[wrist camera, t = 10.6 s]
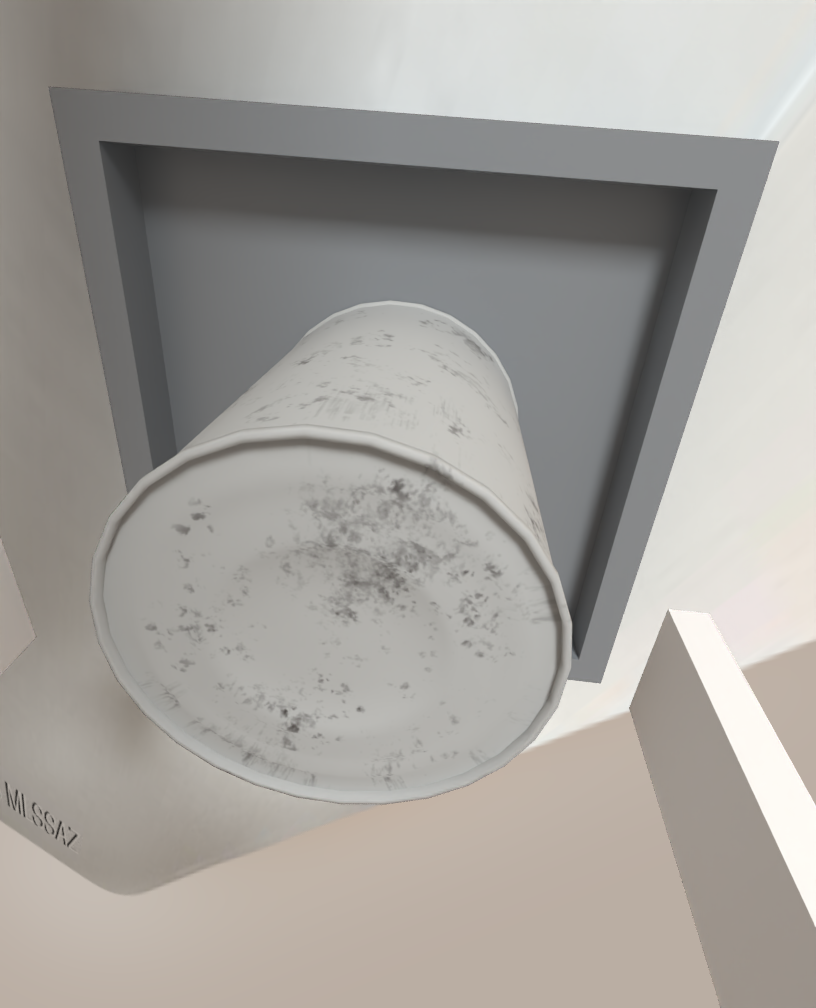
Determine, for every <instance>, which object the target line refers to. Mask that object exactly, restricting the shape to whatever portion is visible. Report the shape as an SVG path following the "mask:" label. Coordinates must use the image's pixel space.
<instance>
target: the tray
mask: <svg viewBox="0 0 816 1008" xmlns="http://www.w3.org/2000/svg"><path fill="white" fill-rule="evenodd" d="M49 91H50V97H51V102H52V107H53V112H54V117H55V122H56V127H57V133H58V138H59V143H60V148H61V153H62V158H63V163H64V169H65V174H66V179H67V184H68V189H69V194H70V199H71V205H72V210H73V215H74V220H75V225H76V230H77V235H78V241H79V246H80V251H81V256H82V261H83V266H84V271H85V277H86V282H87V287H88V292H89V297H90V302H91V307H92V313H93V318H94V323H95V328H96V333H97V338H98V343H99V348H100V354H101V359H102V364H103V369H104V374H105V379H106V384H107V390H108V395H109V400H110V405H111V410H112V415H113V420H114V426H115V431H116V436H117V441H118V446H119V451H120V456H121V462H122V467H123V472H124V477H125V482H126V487H127V492H128V493H129V492H130V491H131V490H132V489H133V487H134V486H135V485H136V484H137V483H138V481H139V480H140V479H141V478H142V477H144V476H145V475H147V474H148V473H150V472H151V471H153V470H154V469H156V468H157V467H159V466H160V465H162V464H163V463H165V462H166V461H168V460H169V459H171V458H172V457H174V456H175V455H176V454H178V453H179V452H180V451H181V450H182V449H183V448H184V447H185V446H186V445H187V444H189V443H190V442H191V441H192V440H193V439H194V438H195V437H196V436H197V435H198V434H200V433H201V432H202V431H203V430H204V429H205V428H206V427H207V426H208V425H209V424H211V423H212V422H213V421H214V420H215V419H216V418H217V417H218V416H219V415H220V414H222V413H223V412H224V411H225V410H226V409H227V408H228V407H229V406H230V405H232V404H233V403H234V402H235V401H236V400H237V399H238V398H239V397H240V396H241V395H243V394H244V393H245V392H246V391H247V390H248V389H249V388H250V387H251V386H252V385H254V384H255V383H256V382H257V381H258V380H259V379H260V378H261V377H262V376H263V375H265V374H266V373H267V372H268V371H269V370H270V369H271V368H272V367H273V366H274V365H276V364H277V363H278V362H279V361H280V360H281V359H282V358H283V357H284V356H285V355H287V354H288V353H289V352H290V351H291V350H292V349H293V348H294V347H295V346H296V344H297V343H298V342H299V341H300V340H301V339H302V338H303V336H304V335H305V334H306V333H307V332H308V331H309V330H310V329H312V328H313V327H315V326H316V325H318V324H319V323H320V322H322V321H323V320H325V319H326V318H328V317H329V316H331V315H332V314H334V313H337V312H340V311H342V310H345V309H348V308H350V307H353V306H356V305H359V304H363V303H371V302H380V301H389V300H392V301H400V302H408V303H416V304H422V305H425V306H428V307H430V308H433V309H436V310H438V311H441V312H444V313H446V314H449V315H451V316H453V317H454V318H456V319H457V320H459V321H460V322H462V323H463V324H465V325H466V326H468V327H469V328H471V329H472V330H473V331H475V332H476V333H477V334H478V335H479V336H480V337H481V338H482V339H483V340H484V341H485V343H486V344H487V345H488V346H489V347H490V348H491V349H492V350H493V351H494V352H495V353H496V355H497V357H498V358H499V360H500V362H501V364H502V366H503V367H504V369H505V371H506V373H507V374H508V376H509V378H510V380H511V384H512V388H513V391H514V395H515V399H516V402H517V406H518V421H519V425H520V430H521V434H522V438H523V442H524V446H525V450H526V455H527V459H528V463H529V467H530V471H531V476H532V480H533V484H534V488H535V492H536V497H537V501H538V505H539V509H540V513H541V518H542V522H543V526H544V530H545V534H546V539H547V543H548V547H549V551H550V555H551V560H552V564H553V566H554V567H555V569H556V571H557V572H558V574H559V578H560V582H561V585H562V589H563V592H564V596H565V599H566V603H567V606H568V610H569V613H570V617H571V621H572V657H571V669H570V672H569V675H568V678H567V679H568V680H576V681H585V682H593V683H601V681H602V678H603V675H604V672H605V669H606V666H607V663H608V660H609V657H610V654H611V650H612V647H613V644H614V641H615V638H616V635H617V632H618V629H619V626H620V623H621V620H622V617H623V614H624V611H625V608H626V605H627V602H628V599H629V596H630V593H631V590H632V587H633V584H634V581H635V578H636V575H637V572H638V569H639V566H640V563H641V560H642V557H643V553H644V550H645V547H646V544H647V541H648V538H649V535H650V532H651V529H652V526H653V523H654V520H655V517H656V514H657V511H658V508H659V505H660V502H661V499H662V496H663V493H664V490H665V487H666V484H667V481H668V478H669V475H670V472H671V469H672V466H673V463H674V459H675V456H676V453H677V450H678V447H679V444H680V441H681V438H682V435H683V432H684V429H685V426H686V423H687V420H688V417H689V414H690V411H691V408H692V405H693V402H694V399H695V396H696V393H697V390H698V387H699V384H700V381H701V378H702V375H703V372H704V369H705V365H706V362H707V359H708V356H709V353H710V350H711V347H712V344H713V341H714V338H715V335H716V332H717V329H718V326H719V323H720V320H721V317H722V314H723V311H724V308H725V305H726V302H727V299H728V296H729V293H730V290H731V287H732V284H733V281H734V278H735V275H736V272H737V268H738V265H739V262H740V259H741V256H742V253H743V250H744V247H745V244H746V241H747V238H748V235H749V232H750V229H751V226H752V223H753V220H754V217H755V214H756V211H757V208H758V205H759V202H760V199H761V196H762V193H763V190H764V187H765V184H766V181H767V178H768V174H769V171H770V168H771V165H772V162H773V159H774V156H775V153H776V150H777V147H778V144H779V141H768V140H755V139H741V138H728V137H715V136H701V135H688V134H675V133H661V132H648V131H634V130H621V129H608V128H594V127H581V126H568V125H554V124H541V123H528V122H514V121H501V120H488V119H474V118H461V117H448V116H434V115H421V114H407V113H394V112H381V111H367V110H354V109H341V108H327V107H314V106H301V105H287V104H274V103H261V102H247V101H234V100H221V99H207V98H194V97H181V96H167V95H154V94H140V93H127V92H114V91H100V90H87V89H74V88H60V87H49Z"/></svg>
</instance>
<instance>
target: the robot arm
mask: <svg viewBox="0 0 816 1008" xmlns="http://www.w3.org/2000/svg"><path fill="white" fill-rule="evenodd" d="M35 638H36V635H35V632H34V629H33V627H32V624H31V621H30V618H29V615H28V613H27V610H26V607H25V604H24V601H23V599H22V596H21V593H20V590H19V587H18V585H17V582H16V579H15V576H14V573H13V571H12V568H11V565H10V562H9V559H8V557H7V554H6V551H5V548H4V545H3V543H2V540H1V537H0V675H1V674H2V673H3V672H4V671H5V670H6V669H7V668H8V667H9V666H10V665H11V664H12V663H13V662H14V661H15V659H16V658H17V657H18V656H19V655H20V654H21V653H22V652H23V651H24V650H25V649H26V648H27V647H28V646H29V644H30V643H31V642H32V641H33V640H34V639H35ZM629 709H630V712H631V715H632V718H633V722H634V725H635V728H636V732H637V735H638V738H639V741H640V745H641V748H642V751H643V755H644V757H645V761H646V764H647V768H648V771H649V774H650V778H651V781H652V784H653V787H654V791H655V794H656V797H657V801H658V804H659V807H660V810H661V814H662V817H663V820H664V824H665V827H666V830H667V833H668V837H669V840H670V843H671V846H672V850H673V853H674V856H675V859H676V863H677V866H678V870H679V873H680V876H681V879H682V883H683V886H684V889H685V893H686V895H687V899H688V902H689V905H690V909H691V912H692V916H693V918H694V922H695V925H696V929H697V932H698V935H699V938H700V942H701V945H702V948H703V951H704V954H705V958H706V961H707V965H708V968H709V971H710V975H711V978H712V981H713V984H714V987H715V991H716V994H717V997H718V1001H719V1004H720V1008H816V805H815V804H814V802H813V800H812V798H811V797H810V795H809V793H808V791H807V789H806V787H805V786H804V784H803V782H802V780H801V778H800V776H799V775H798V773H797V771H796V769H795V767H794V766H793V764H792V762H791V760H790V758H789V757H788V755H787V753H786V751H785V749H784V747H783V746H782V744H781V742H780V740H779V739H778V737H777V735H776V733H775V731H774V730H773V728H772V726H771V724H770V722H769V720H768V719H767V717H766V715H765V713H764V711H763V710H762V708H761V706H760V704H759V702H758V700H757V699H756V697H755V695H754V693H753V692H752V690H751V688H750V686H749V684H748V683H747V681H746V679H745V677H744V675H743V673H742V672H741V670H740V668H739V666H738V664H737V663H736V661H735V659H734V657H733V655H732V653H731V652H730V650H729V648H728V646H727V644H726V643H725V641H724V639H723V637H722V635H721V634H720V632H719V630H718V628H717V626H716V625H715V623H714V621H713V619H712V617H711V616H710V614H709V613H700V612H691V611H682V610H673V609H668V611H667V613H666V616H665V618H664V621H663V623H662V626H661V629H660V631H659V634H658V636H657V639H656V641H655V644H654V646H653V649H652V651H651V654H650V656H649V659H648V662H647V664H646V667H645V669H644V672H643V674H642V677H641V679H640V682H639V684H638V687H637V690H636V692H635V695H634V697H633V700H632V702H631V705H630V707H629Z"/></svg>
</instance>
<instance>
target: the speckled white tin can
mask: <svg viewBox="0 0 816 1008" xmlns="http://www.w3.org/2000/svg"><path fill="white" fill-rule="evenodd" d="M89 602H90V607H91V612H92V616H93V621H94V625H95V630H96V635H97V639H98V643H99V645H100V647H101V649H102V651H103V653H104V655H105V657H106V659H107V661H108V663H109V665H110V667H111V669H112V671H113V673H114V675H115V677H116V679H117V681H118V682H119V683H120V685H121V686H122V687H123V688H124V690H125V691H126V692H127V693H128V695H129V696H130V697H131V698H132V700H133V701H134V702H135V704H136V705H137V706H138V707H139V709H140V710H141V711H142V712H143V714H144V715H146V716H147V717H148V718H149V719H150V720H151V721H152V722H153V723H155V724H156V725H157V726H158V727H159V728H160V729H161V730H162V731H164V732H165V733H166V734H167V735H168V736H169V737H170V738H172V739H173V740H174V741H175V742H176V743H178V744H179V745H181V746H182V747H184V748H185V749H187V750H189V751H190V752H192V753H193V754H195V755H196V756H198V757H200V758H201V759H203V760H204V761H206V762H207V763H209V764H211V765H212V766H214V767H216V768H218V769H220V770H223V771H225V772H227V773H229V774H231V775H234V776H236V777H238V778H240V779H243V780H245V781H247V782H249V783H252V784H254V785H257V786H260V787H264V788H267V789H270V790H274V791H277V792H281V793H284V794H288V795H291V796H294V797H298V798H305V799H312V800H318V801H325V802H332V803H338V804H390V803H398V802H405V801H412V800H419V799H426V798H430V797H433V796H436V795H440V794H443V793H446V792H450V791H452V790H456V789H459V788H462V787H465V786H468V785H470V784H472V783H474V782H476V781H478V780H480V779H481V778H483V777H485V776H487V775H489V774H490V773H493V772H494V771H496V770H498V769H500V768H502V767H504V766H505V765H506V764H507V763H509V762H510V761H511V760H512V759H513V758H515V757H516V756H517V755H518V754H519V753H520V752H522V751H523V750H524V749H525V748H526V747H527V746H529V745H530V744H531V743H532V742H533V741H534V740H535V739H536V738H537V736H538V735H539V733H540V732H541V731H542V729H543V728H544V726H545V725H546V723H547V722H548V721H549V719H550V718H551V716H552V715H553V713H554V712H555V711H556V709H557V708H558V705H559V702H560V699H561V696H562V693H563V690H564V687H565V684H566V681H567V678H568V675H569V672H570V669H571V657H572V621H571V617H570V613H569V610H568V606H567V603H566V599H565V596H564V592H563V589H562V585H561V582H560V578H559V574H558V572H557V571H556V569H555V567H554V566H553V564H552V560H551V555H550V551H549V547H548V543H547V539H546V534H545V530H544V526H543V522H542V518H541V513H540V509H539V505H538V501H537V497H536V492H535V488H534V484H533V480H532V476H531V471H530V467H529V463H528V459H527V455H526V450H525V446H524V442H523V438H522V434H521V430H520V425H519V421H518V406H517V402H516V399H515V395H514V391H513V388H512V384H511V380H510V378H509V376H508V374H507V373H506V371H505V369H504V367H503V366H502V364H501V362H500V360H499V358H498V357H497V355H496V353H495V352H494V351H493V350H492V349H491V348H490V347H489V346H488V345H487V344H486V343H485V341H484V340H483V339H482V338H481V337H480V336H479V335H478V334H477V333H476V332H475V331H473V330H472V329H471V328H469V327H468V326H466V325H465V324H463V323H462V322H460V321H459V320H457V319H456V318H454V317H453V316H451V315H449V314H446V313H444V312H441V311H438V310H436V309H433V308H430V307H428V306H425V305H422V304H416V303H408V302H400V301H392V300H389V301H380V302H371V303H363V304H359V305H356V306H353V307H350V308H348V309H345V310H342V311H340V312H337V313H334V314H332V315H331V316H329V317H328V318H326V319H325V320H323V321H322V322H320V323H319V324H318V325H316V326H315V327H313V328H312V329H310V330H309V331H308V332H307V333H306V334H305V335H304V336H303V338H302V339H301V340H300V341H299V342H298V343H297V344H296V346H295V347H294V348H293V349H292V350H291V351H290V352H289V353H288V354H287V355H285V356H284V357H283V358H282V359H281V360H280V361H279V362H278V363H277V364H276V365H274V366H273V367H272V368H271V369H270V370H269V371H268V372H267V373H266V374H265V375H263V376H262V377H261V378H260V379H259V380H258V381H257V382H256V383H255V384H254V385H252V386H251V387H250V388H249V389H248V390H247V391H246V392H245V393H244V394H243V395H241V396H240V397H239V398H238V399H237V400H236V401H235V402H234V403H233V404H232V405H230V406H229V407H228V408H227V409H226V410H225V411H224V412H223V413H222V414H220V415H219V416H218V417H217V418H216V419H215V420H214V421H213V422H212V423H211V424H209V425H208V426H207V427H206V428H205V429H204V430H203V431H202V432H201V433H200V434H198V435H197V436H196V437H195V438H194V439H193V440H192V441H191V442H190V443H189V444H187V445H186V446H185V447H184V448H183V449H182V450H181V451H180V452H179V453H178V454H176V455H175V456H174V457H172V458H171V459H169V460H168V461H166V462H165V463H163V464H162V465H160V466H159V467H157V468H156V469H154V470H153V471H151V472H150V473H148V474H147V475H145V476H144V477H142V478H141V479H140V480H139V481H138V483H137V484H136V485H135V486H134V487H133V489H132V490H131V491H130V492H129V493H128V495H127V496H126V497H125V498H124V499H123V501H122V502H121V503H120V504H119V505H118V507H117V508H116V509H115V510H114V511H113V512H112V514H111V515H110V516H109V518H108V521H107V523H106V526H105V528H104V531H103V533H102V536H101V538H100V541H99V543H98V546H97V548H96V551H95V553H94V556H93V559H92V570H91V584H90V598H89Z"/></svg>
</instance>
